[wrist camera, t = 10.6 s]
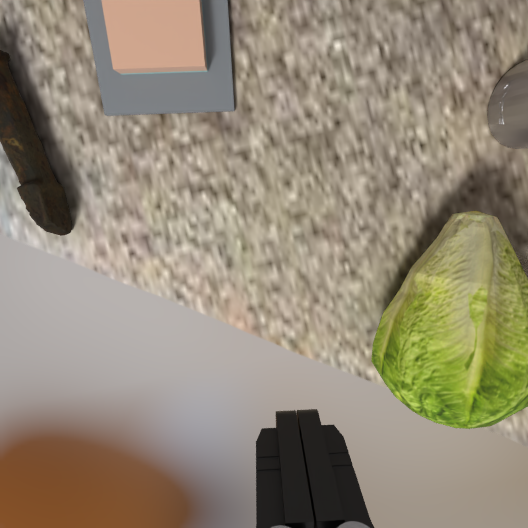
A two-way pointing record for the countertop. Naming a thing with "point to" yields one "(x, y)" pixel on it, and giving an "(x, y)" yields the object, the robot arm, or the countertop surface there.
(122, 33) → the tile
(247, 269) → the countertop surface
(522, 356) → the lettuce
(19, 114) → the hand tool
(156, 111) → the mat
